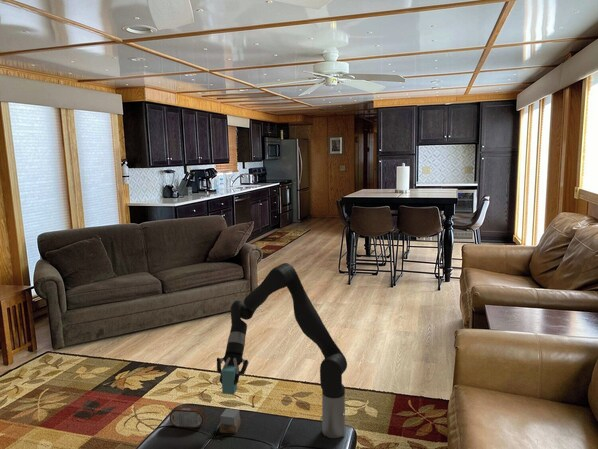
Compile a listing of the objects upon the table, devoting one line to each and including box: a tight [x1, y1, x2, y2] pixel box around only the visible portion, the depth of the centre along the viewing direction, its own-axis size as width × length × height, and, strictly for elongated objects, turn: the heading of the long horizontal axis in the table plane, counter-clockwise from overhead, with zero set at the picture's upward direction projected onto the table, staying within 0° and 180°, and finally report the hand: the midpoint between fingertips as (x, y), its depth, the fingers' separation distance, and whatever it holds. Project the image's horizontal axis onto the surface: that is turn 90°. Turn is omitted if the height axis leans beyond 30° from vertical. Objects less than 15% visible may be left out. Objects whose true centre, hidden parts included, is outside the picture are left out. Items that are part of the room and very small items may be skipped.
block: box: [221, 365, 238, 395], centre depth 191 cm, size 5×5×10 cm
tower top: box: [220, 408, 241, 426], centre depth 192 cm, size 6×6×4 cm
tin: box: [169, 405, 206, 429], centre depth 194 cm, size 15×3×8 cm, turn 84°
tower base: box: [219, 416, 242, 434], centre depth 193 cm, size 7×7×4 cm
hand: (228, 383), depth 189 cm, fingers closed on block, 5 cm apart
